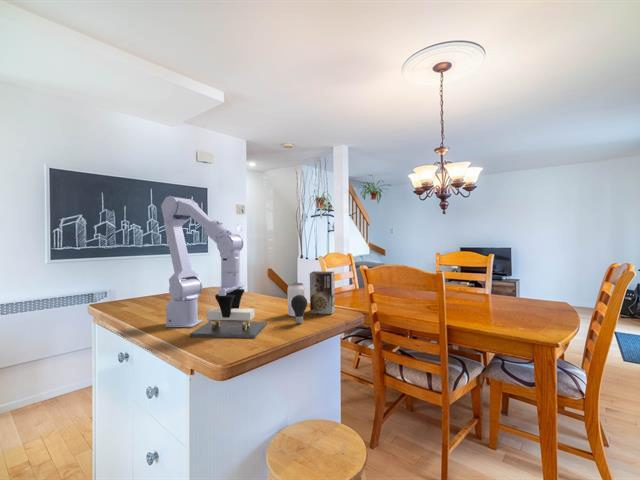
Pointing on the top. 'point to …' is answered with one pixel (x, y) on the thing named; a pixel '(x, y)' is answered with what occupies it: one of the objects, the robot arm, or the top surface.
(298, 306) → the light bulb
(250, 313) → the board
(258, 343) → the top surface
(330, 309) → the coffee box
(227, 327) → the plate
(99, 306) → the top surface
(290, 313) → the can
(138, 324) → the top surface
